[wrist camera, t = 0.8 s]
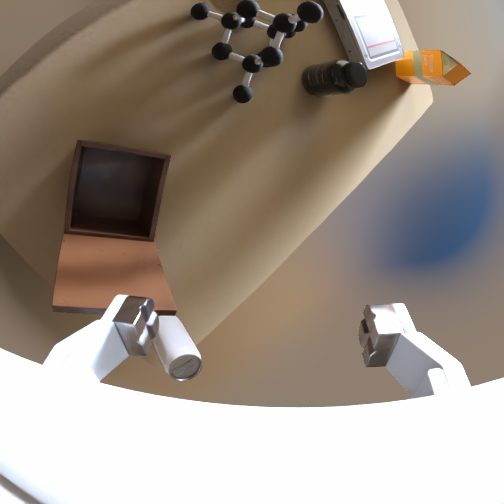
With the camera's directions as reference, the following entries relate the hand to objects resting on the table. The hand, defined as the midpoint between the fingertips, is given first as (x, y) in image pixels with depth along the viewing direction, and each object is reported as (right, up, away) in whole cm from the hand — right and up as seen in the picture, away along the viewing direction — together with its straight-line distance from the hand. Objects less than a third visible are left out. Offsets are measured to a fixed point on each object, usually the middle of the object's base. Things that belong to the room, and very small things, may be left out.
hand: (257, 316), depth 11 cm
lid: (-15, +1, +17) cm, 23 cm away
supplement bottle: (+12, +36, +40) cm, 55 cm away
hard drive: (+24, +58, +38) cm, 73 cm away
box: (-21, +12, +29) cm, 38 cm away
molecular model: (-4, +38, +29) cm, 48 cm away
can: (-16, -12, +42) cm, 46 cm away
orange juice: (+42, +54, +51) cm, 85 cm away
